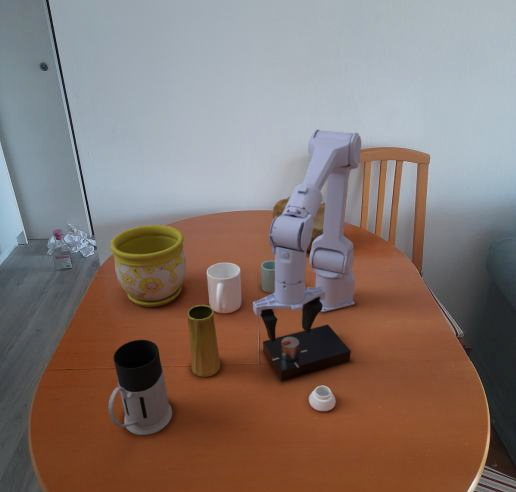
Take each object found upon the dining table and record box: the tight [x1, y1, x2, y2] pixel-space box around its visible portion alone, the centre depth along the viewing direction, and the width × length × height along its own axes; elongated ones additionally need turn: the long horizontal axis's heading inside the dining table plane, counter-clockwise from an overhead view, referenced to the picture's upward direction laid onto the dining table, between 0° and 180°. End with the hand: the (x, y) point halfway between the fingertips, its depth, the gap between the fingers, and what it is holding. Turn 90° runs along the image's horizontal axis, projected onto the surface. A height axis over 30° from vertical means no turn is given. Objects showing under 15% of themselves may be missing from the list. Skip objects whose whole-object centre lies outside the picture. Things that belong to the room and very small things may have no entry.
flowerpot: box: [109, 224, 187, 308], centre depth 116 cm, size 18×18×16 cm
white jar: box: [308, 385, 337, 412], centre depth 84 cm, size 5×3×5 cm
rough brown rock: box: [272, 195, 325, 253], centre depth 140 cm, size 23×17×15 cm
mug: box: [206, 262, 243, 314], centre depth 110 cm, size 12×8×10 cm
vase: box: [187, 304, 221, 378], centre depth 91 cm, size 6×6×14 cm
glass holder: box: [108, 339, 173, 436], centre depth 77 cm, size 9×14×15 cm, turn 167°
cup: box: [260, 259, 275, 294], centre depth 120 cm, size 5×5×7 cm
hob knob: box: [281, 337, 299, 361], centre depth 92 cm, size 4×4×4 cm
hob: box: [262, 324, 352, 382], centre depth 96 cm, size 16×10×3 cm, turn 111°
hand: (288, 334), depth 90 cm, fingers open, 7 cm apart
